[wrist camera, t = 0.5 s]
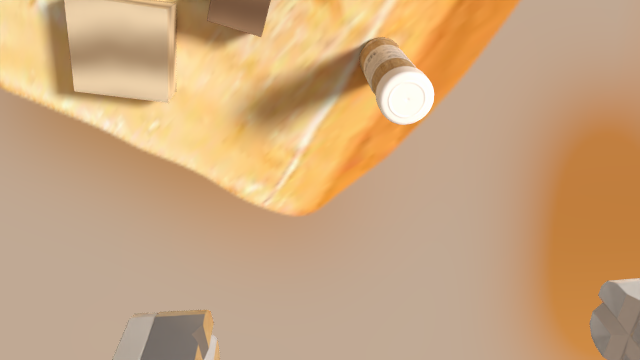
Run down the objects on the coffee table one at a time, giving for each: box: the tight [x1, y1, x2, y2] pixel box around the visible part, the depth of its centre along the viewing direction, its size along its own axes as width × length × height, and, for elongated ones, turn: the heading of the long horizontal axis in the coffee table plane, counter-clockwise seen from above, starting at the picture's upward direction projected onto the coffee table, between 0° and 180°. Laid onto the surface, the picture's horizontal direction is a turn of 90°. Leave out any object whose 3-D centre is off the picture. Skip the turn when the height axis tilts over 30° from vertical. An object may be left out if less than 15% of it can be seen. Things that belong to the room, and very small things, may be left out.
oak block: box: [64, 0, 176, 103], centre depth 45 cm, size 9×9×4 cm
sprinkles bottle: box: [359, 37, 434, 125], centre depth 43 cm, size 5×5×14 cm
